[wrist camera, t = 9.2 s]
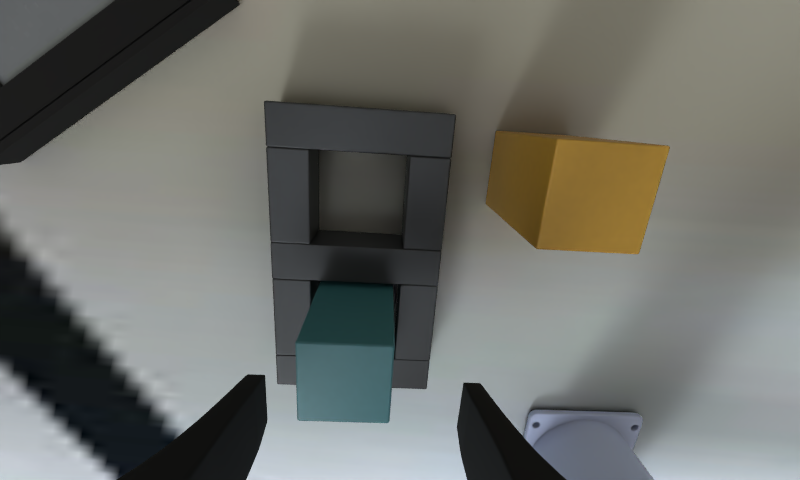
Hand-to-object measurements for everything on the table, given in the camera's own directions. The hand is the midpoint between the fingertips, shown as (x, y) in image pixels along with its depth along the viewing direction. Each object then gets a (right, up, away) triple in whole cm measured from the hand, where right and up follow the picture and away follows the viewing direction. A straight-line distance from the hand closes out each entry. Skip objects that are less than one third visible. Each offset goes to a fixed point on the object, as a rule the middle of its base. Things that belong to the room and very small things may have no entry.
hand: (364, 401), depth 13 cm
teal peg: (-1, +2, +9) cm, 9 cm away
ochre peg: (+8, +10, +7) cm, 14 cm away
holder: (-1, +5, +8) cm, 10 cm away
